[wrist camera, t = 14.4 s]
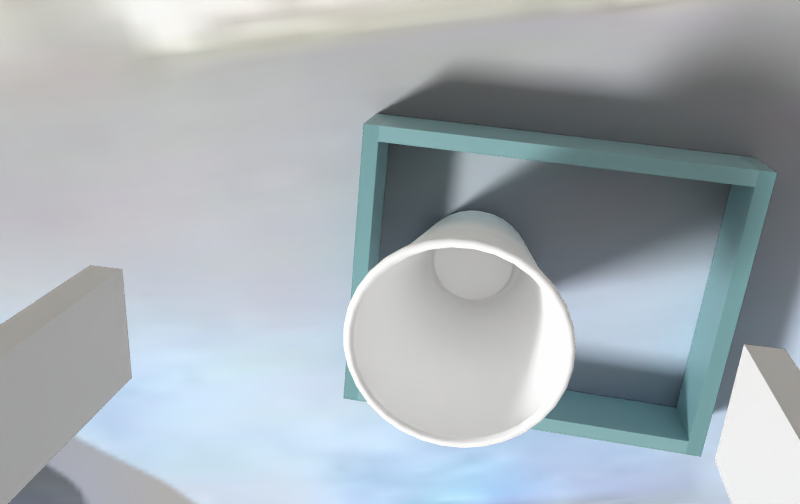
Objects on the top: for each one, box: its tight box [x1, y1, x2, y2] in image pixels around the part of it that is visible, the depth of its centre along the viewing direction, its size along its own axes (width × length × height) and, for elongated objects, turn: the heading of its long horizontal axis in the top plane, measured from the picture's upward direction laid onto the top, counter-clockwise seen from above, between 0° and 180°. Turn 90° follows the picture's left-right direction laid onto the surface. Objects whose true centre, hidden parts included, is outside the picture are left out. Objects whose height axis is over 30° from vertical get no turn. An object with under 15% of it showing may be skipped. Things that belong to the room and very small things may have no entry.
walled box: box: [344, 114, 777, 457], centre depth 40 cm, size 16×20×4 cm
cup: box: [344, 210, 576, 448], centre depth 36 cm, size 10×10×11 cm
